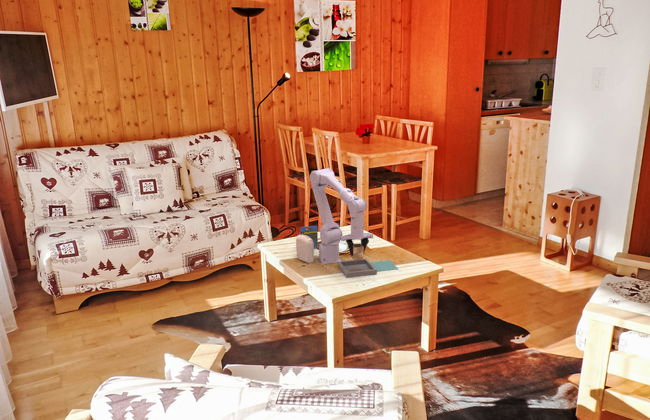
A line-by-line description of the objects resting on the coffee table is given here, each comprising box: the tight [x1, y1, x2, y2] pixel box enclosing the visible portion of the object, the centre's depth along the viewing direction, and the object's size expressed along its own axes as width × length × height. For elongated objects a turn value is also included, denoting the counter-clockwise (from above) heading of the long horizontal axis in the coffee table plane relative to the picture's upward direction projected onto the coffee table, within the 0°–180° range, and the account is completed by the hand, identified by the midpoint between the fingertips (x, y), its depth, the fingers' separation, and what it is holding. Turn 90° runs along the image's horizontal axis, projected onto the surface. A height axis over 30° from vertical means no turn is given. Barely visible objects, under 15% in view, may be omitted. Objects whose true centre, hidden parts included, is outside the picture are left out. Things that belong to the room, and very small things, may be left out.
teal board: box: [369, 259, 399, 273], centre depth 237 cm, size 11×11×1 cm
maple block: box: [350, 242, 365, 260], centre depth 231 cm, size 4×4×6 cm
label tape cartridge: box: [298, 225, 319, 249], centre depth 260 cm, size 9×4×12 cm, turn 107°
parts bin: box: [337, 258, 378, 279], centre depth 233 cm, size 14×14×2 cm
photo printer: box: [295, 234, 315, 264], centre depth 245 cm, size 10×4×12 cm, turn 39°
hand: (357, 254), depth 231 cm, fingers closed on maple block, 4 cm apart
